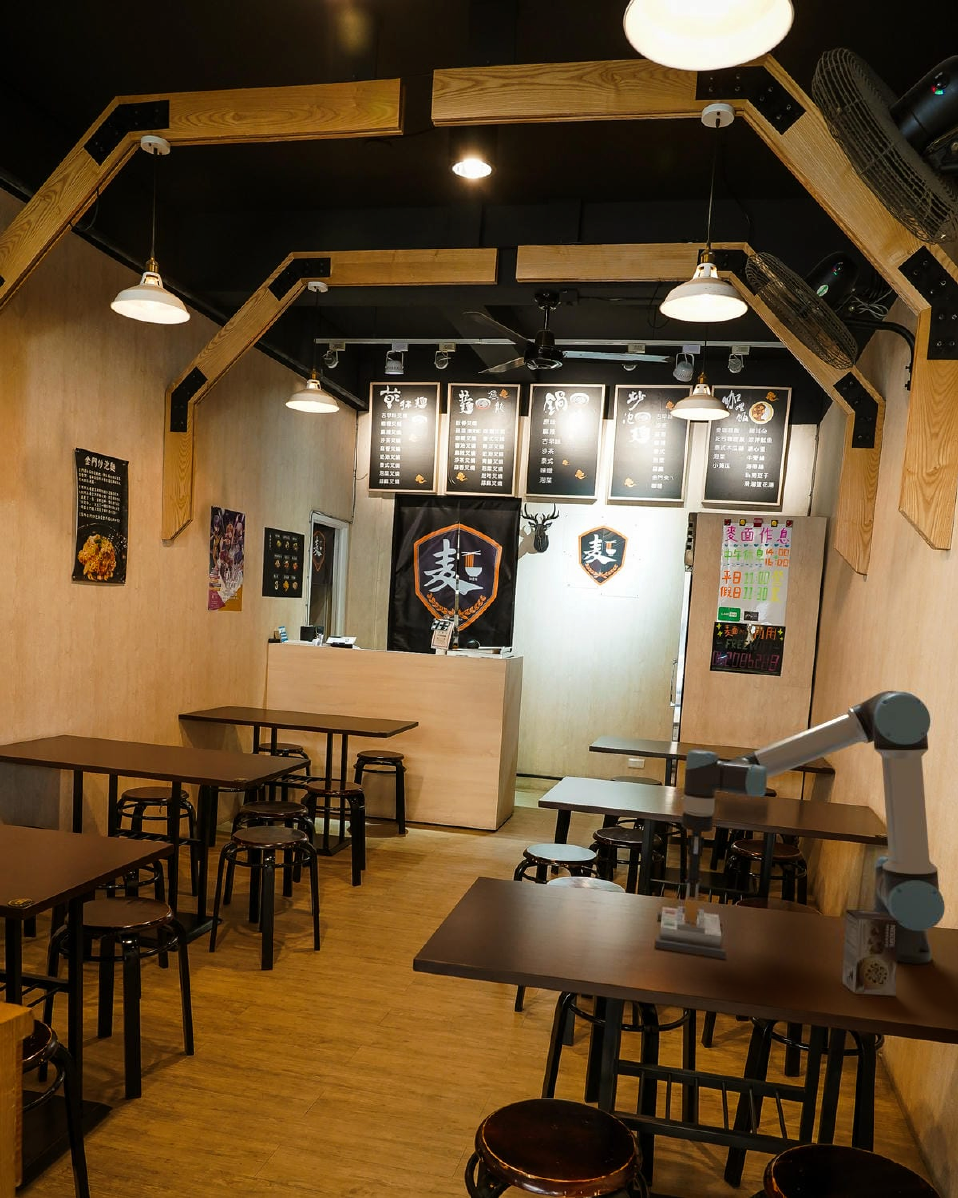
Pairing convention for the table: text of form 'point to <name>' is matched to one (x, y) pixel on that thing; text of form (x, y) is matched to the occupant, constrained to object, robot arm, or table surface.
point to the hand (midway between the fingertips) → (691, 909)
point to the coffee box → (870, 952)
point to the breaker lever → (691, 909)
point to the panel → (690, 928)
